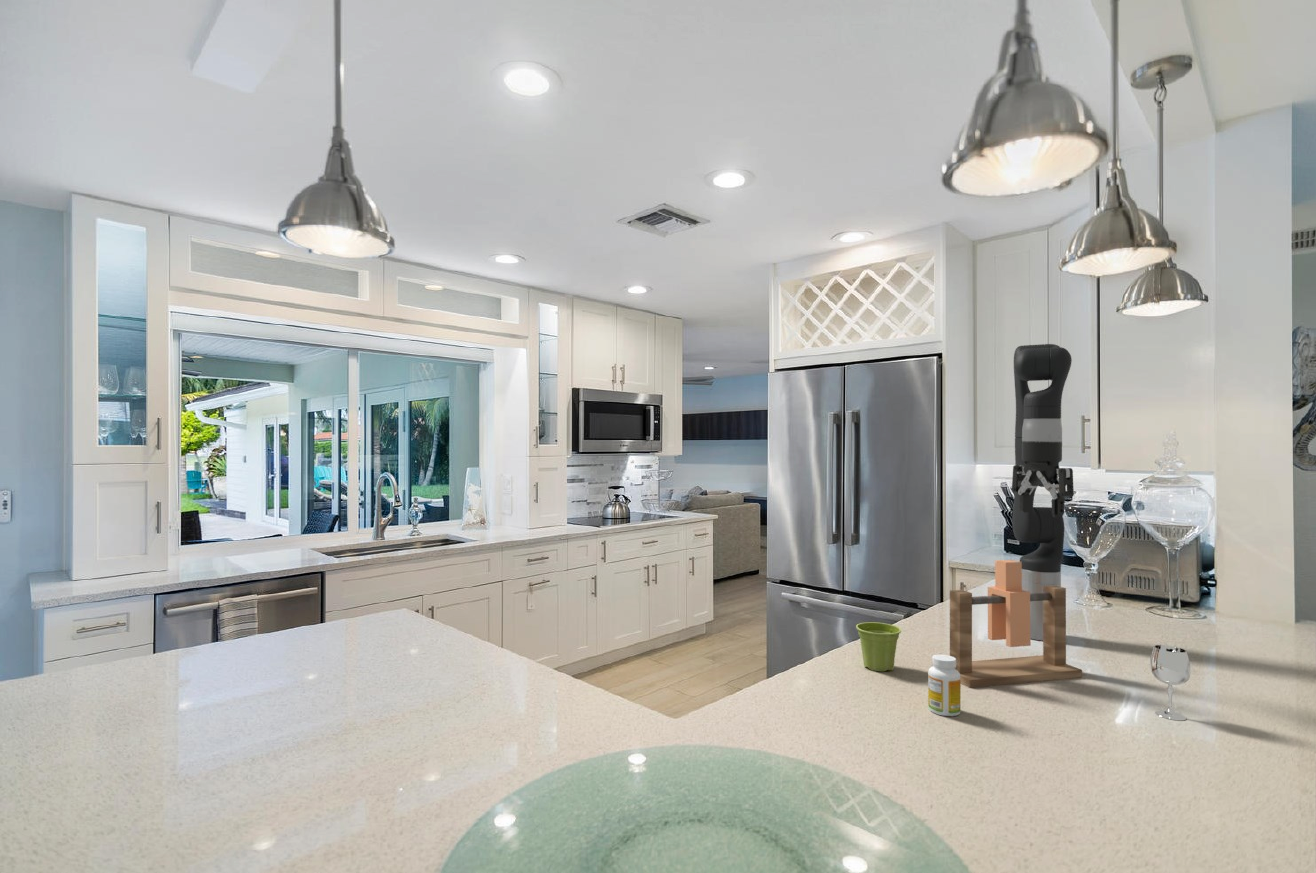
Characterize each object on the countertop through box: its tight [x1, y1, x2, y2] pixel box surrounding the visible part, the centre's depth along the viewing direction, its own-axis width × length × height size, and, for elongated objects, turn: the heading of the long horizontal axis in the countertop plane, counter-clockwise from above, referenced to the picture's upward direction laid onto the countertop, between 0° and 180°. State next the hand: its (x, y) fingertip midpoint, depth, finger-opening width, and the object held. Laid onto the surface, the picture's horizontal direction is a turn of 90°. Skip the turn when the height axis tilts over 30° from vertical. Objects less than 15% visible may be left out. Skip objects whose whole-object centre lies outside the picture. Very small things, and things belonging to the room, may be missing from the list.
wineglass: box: [1149, 644, 1192, 721], centre depth 118 cm, size 6×6×12 cm
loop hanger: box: [987, 559, 1031, 648], centre depth 140 cm, size 6×5×17 cm
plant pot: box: [855, 621, 902, 673], centre depth 143 cm, size 9×9×9 cm
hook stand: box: [949, 585, 1083, 689], centre depth 139 cm, size 10×28×18 cm, turn 104°
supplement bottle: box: [927, 654, 962, 717], centre depth 119 cm, size 5×5×10 cm
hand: (1041, 514), depth 142 cm, fingers open, 8 cm apart
